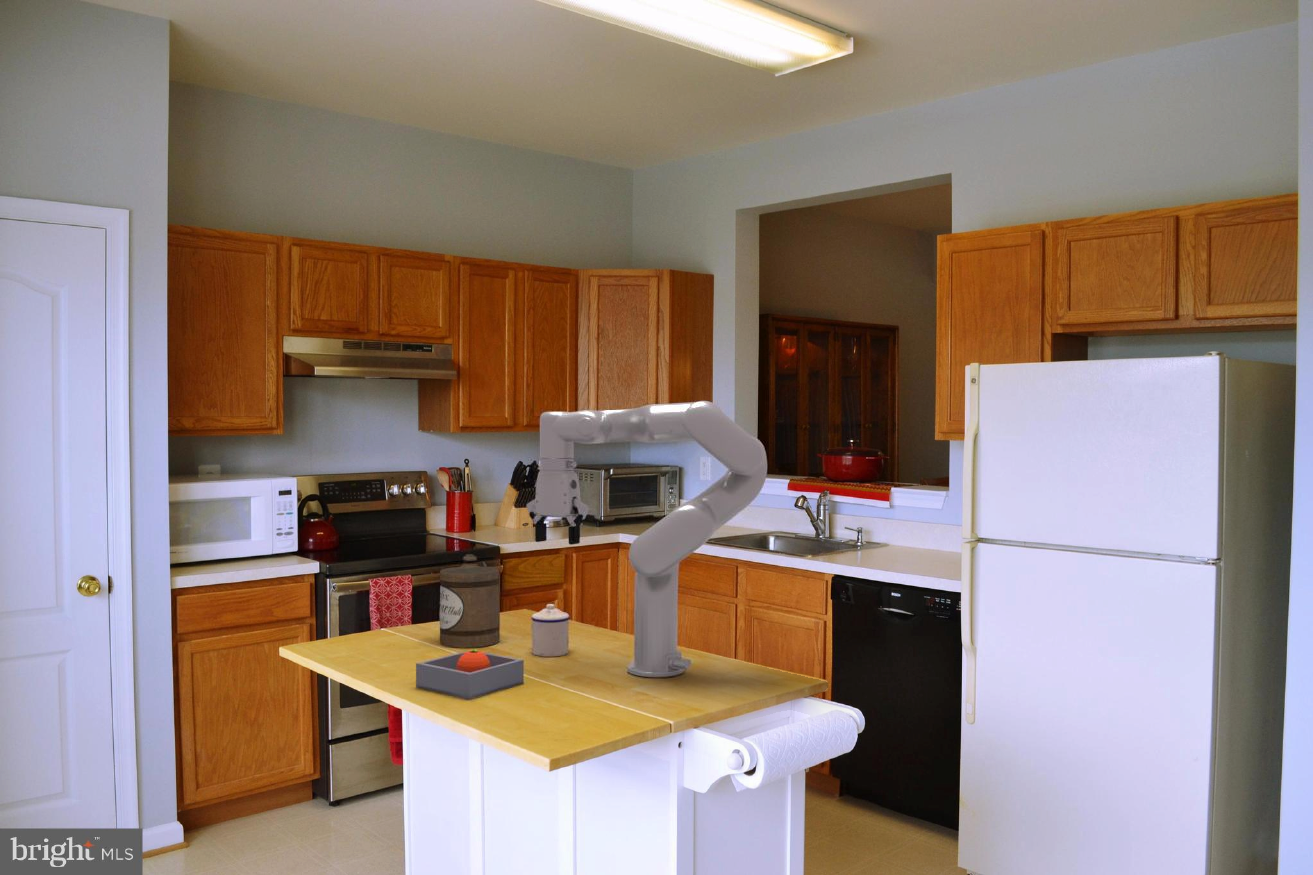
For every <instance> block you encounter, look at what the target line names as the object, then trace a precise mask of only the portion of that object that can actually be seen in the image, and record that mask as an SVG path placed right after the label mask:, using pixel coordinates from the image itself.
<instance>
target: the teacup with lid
mask: <svg viewBox="0 0 1313 875" xmlns="http://www.w3.org/2000/svg"><path fill="white" fill-rule="evenodd" d="M545 606H546V607H545V608H542V610H540V611H538V612H536V613H533V614H532V616H531V620H532V622H531V626H530V627H531V629H530V630H531V632H532V633H531V636H532V637H531V653H532V654H533V655H534V656H536V657H537V656H538V657H544V658H552V657H553V658H554V657H555V658H556V657H561V656H565V655H567V654H568V653H569V634H570V633H569V630H570V629H569V624H570V623H569V621H570V615H569V614H568V613H567V612H564V611H561V610H560V609H559V608H556V605H555V604H552V603H548V604H546V605H545Z"/></svg>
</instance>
